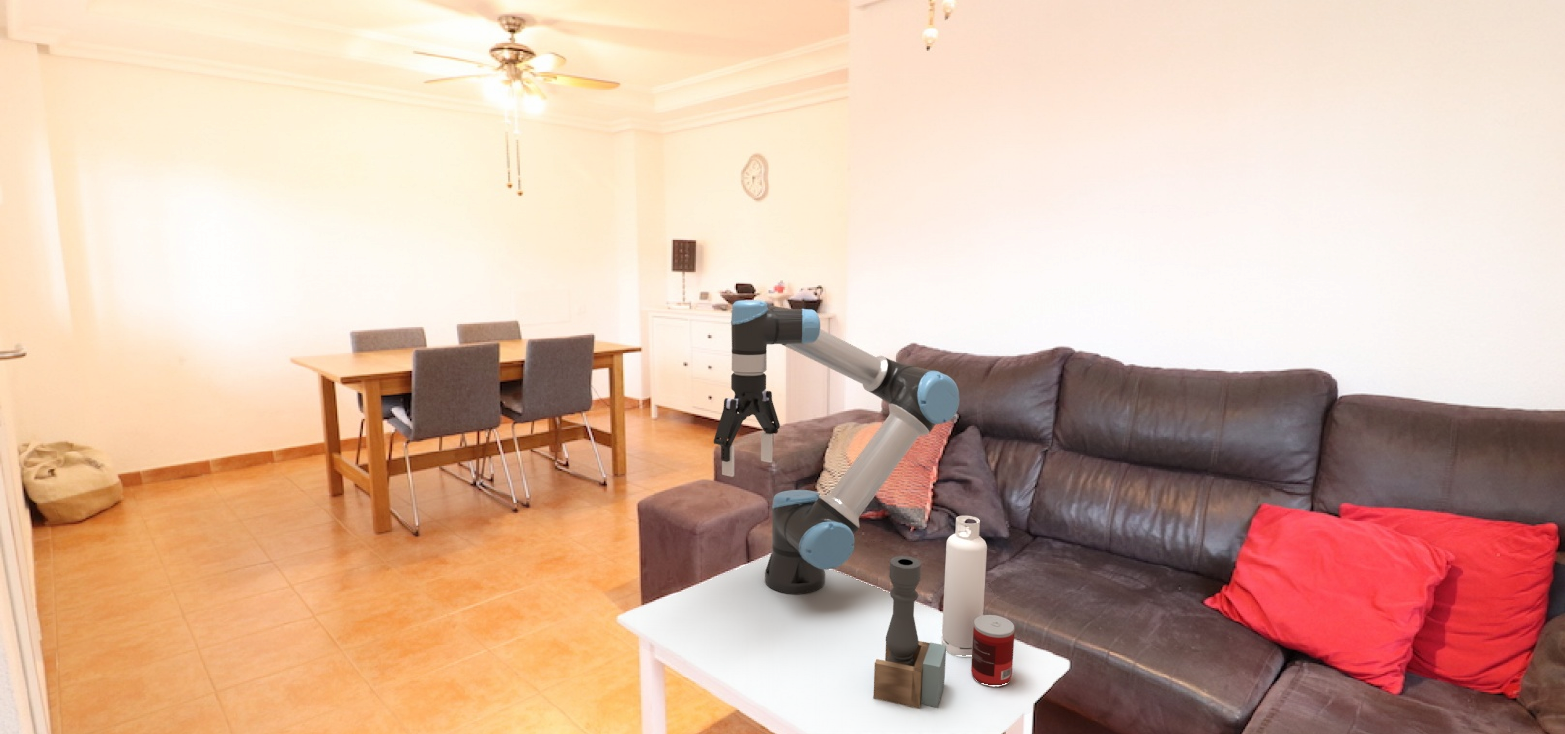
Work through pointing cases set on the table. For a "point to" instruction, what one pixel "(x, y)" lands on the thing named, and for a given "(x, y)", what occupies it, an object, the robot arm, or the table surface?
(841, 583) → the table surface
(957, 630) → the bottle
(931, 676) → the block
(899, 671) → the cradle
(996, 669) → the canned food
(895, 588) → the candle holder
